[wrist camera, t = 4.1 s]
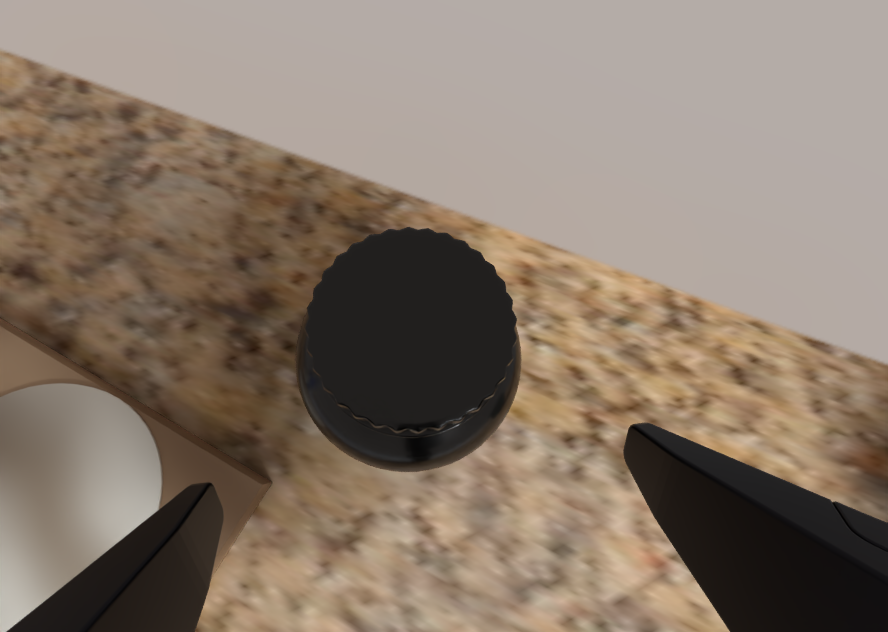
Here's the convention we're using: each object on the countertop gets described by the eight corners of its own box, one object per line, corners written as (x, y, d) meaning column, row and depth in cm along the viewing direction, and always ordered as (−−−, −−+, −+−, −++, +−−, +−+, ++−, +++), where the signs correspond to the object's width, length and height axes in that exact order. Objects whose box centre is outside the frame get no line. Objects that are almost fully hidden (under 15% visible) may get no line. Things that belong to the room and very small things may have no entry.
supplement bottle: (324, 331, 22) (240, 203, 10) (461, 306, 23) (521, 163, 11) (346, 478, 20) (275, 518, 9) (493, 444, 21) (603, 440, 10)
